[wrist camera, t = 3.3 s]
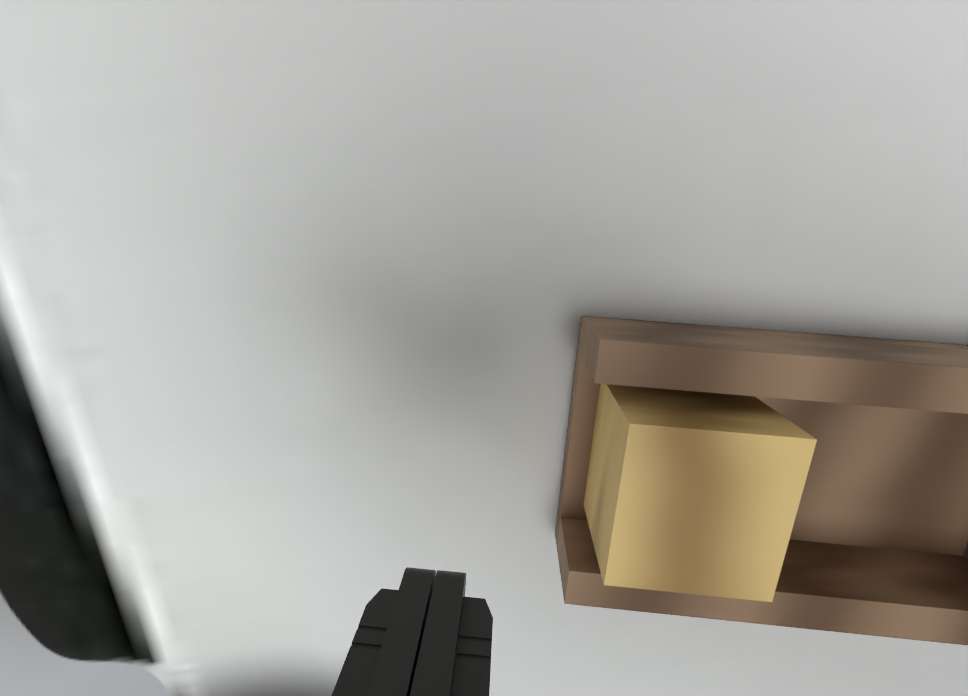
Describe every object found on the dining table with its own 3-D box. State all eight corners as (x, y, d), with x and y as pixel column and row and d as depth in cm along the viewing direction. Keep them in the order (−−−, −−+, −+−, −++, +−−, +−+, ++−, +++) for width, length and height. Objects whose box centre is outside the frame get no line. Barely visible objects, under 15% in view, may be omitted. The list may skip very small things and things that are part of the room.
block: (742, 387, 20) (817, 439, 15) (713, 517, 21) (772, 601, 16) (601, 376, 20) (629, 423, 15) (583, 505, 21) (603, 585, 17)
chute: (1054, 352, 19) (1212, 387, 15) (966, 572, 22) (1076, 656, 18) (581, 316, 20) (600, 339, 16) (554, 532, 23) (564, 603, 19)
